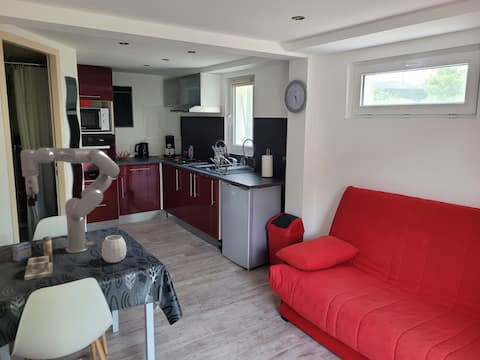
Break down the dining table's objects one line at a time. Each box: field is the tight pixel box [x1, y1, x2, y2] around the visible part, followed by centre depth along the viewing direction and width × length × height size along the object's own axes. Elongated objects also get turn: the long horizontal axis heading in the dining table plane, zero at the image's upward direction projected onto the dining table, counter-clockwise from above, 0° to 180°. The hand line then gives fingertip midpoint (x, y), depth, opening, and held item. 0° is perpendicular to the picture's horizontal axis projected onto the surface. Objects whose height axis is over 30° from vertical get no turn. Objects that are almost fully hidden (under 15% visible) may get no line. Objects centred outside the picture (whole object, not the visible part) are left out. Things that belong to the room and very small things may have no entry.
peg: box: [42, 236, 54, 263], centre depth 193 cm, size 4×4×14 cm
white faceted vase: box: [101, 234, 127, 264], centre depth 198 cm, size 13×13×14 cm
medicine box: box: [11, 241, 33, 263], centre depth 197 cm, size 8×4×9 cm, turn 160°
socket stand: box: [24, 255, 54, 281], centre depth 182 cm, size 12×14×6 cm
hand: (33, 203), depth 193 cm, fingers open, 9 cm apart
